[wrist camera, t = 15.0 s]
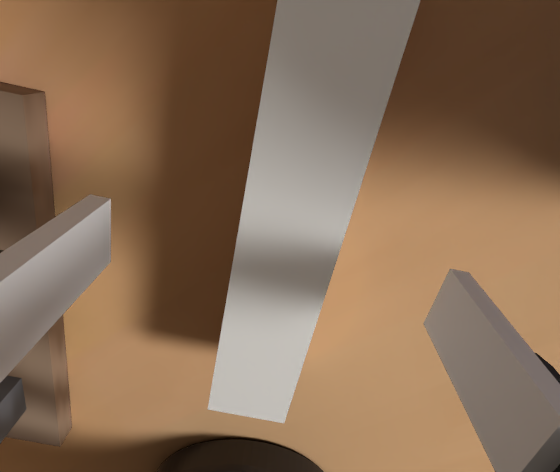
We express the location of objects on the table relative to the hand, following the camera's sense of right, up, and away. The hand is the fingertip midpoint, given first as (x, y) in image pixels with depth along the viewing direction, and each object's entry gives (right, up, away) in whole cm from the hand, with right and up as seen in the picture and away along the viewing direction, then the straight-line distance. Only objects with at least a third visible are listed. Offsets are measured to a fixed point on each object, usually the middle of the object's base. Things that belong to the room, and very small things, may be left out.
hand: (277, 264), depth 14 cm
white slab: (+1, +3, +5) cm, 5 cm away
